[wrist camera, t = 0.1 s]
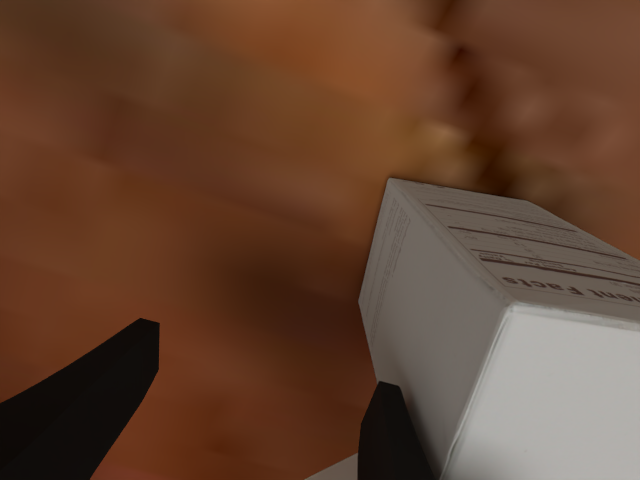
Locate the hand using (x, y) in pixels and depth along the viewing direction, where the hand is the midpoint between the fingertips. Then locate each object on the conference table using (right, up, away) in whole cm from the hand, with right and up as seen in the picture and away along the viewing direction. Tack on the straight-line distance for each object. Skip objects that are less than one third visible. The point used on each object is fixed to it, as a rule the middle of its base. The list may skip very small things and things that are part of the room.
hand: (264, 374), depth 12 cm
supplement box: (+8, +4, +9) cm, 12 cm away
